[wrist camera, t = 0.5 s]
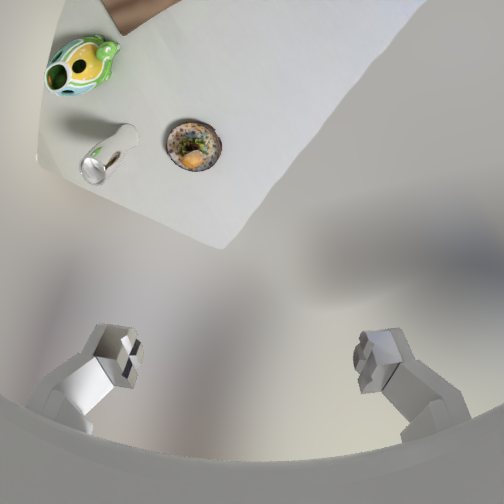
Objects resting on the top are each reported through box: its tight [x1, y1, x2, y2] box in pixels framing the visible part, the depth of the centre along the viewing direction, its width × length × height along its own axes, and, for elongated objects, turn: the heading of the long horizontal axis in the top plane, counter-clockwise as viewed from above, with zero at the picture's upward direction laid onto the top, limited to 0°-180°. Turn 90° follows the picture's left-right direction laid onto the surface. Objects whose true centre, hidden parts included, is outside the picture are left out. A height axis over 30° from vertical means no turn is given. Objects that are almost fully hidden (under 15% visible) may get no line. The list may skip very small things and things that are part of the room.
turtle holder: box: [44, 34, 120, 96], centre depth 35 cm, size 12×18×12 cm
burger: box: [166, 122, 222, 172], centre depth 52 cm, size 12×12×8 cm
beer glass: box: [79, 124, 140, 186], centre depth 49 cm, size 7×7×15 cm
